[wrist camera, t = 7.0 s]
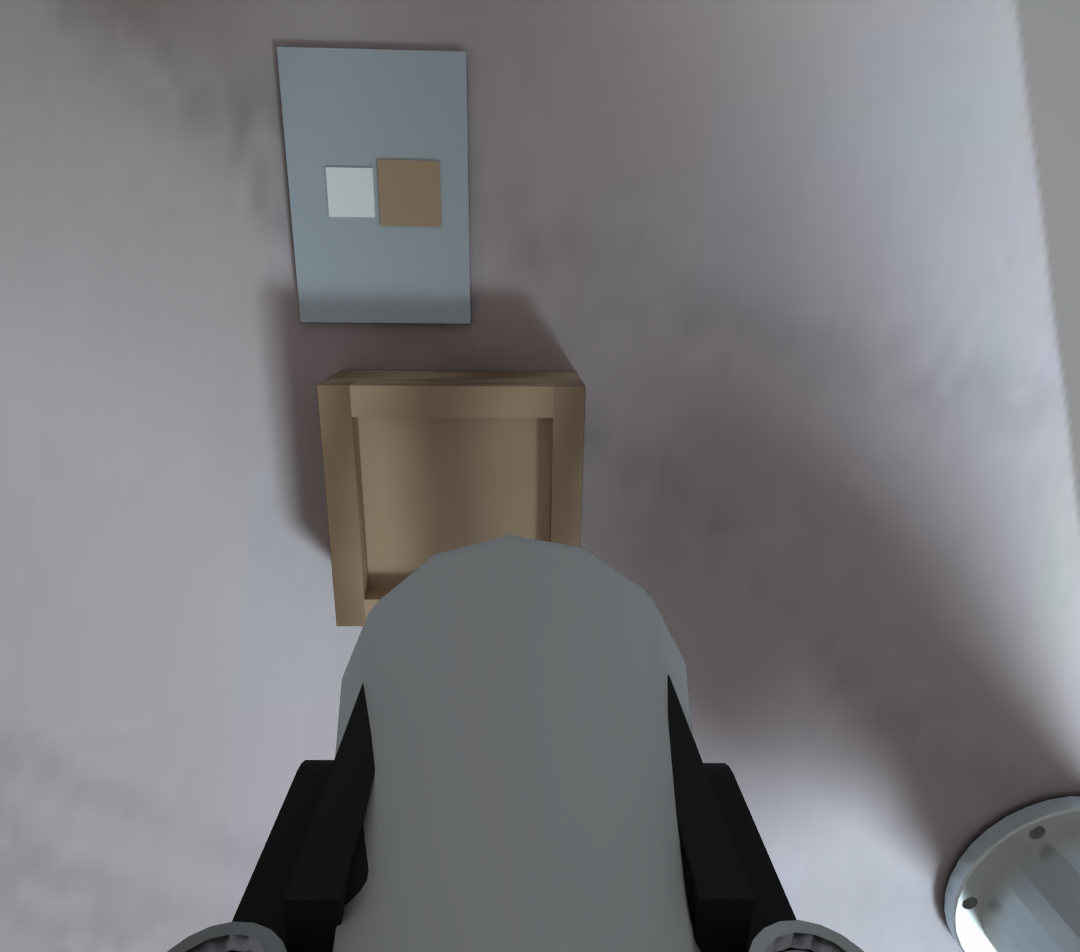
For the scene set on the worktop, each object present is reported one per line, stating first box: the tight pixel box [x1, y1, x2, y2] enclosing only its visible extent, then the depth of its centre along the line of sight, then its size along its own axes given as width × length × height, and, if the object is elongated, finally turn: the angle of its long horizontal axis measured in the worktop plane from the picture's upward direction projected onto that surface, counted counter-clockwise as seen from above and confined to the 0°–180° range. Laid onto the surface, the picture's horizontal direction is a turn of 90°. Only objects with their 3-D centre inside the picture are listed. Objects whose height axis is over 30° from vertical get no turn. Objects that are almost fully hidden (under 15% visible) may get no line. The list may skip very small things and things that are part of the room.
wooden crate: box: [317, 370, 585, 626], centre depth 29 cm, size 10×10×4 cm
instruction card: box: [277, 47, 471, 324], centre depth 27 cm, size 7×10×1 cm
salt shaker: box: [333, 534, 701, 952], centre depth 8 cm, size 6×6×13 cm
